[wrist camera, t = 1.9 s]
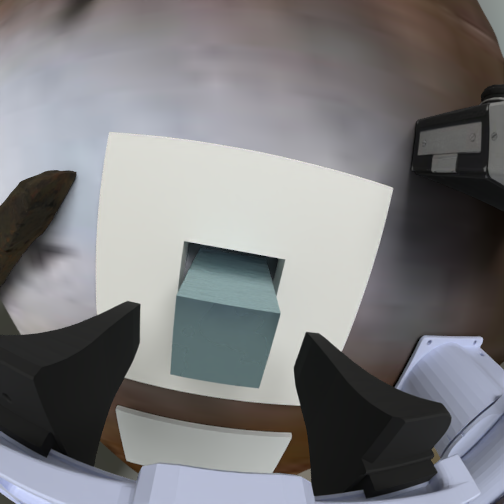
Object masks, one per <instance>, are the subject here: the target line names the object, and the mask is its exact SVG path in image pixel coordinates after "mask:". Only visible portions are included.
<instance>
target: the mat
mask: <svg viewBox="0 0 504 504" xmlns="http://www.w3.org/2000/svg"><path fill="white" fill-rule="evenodd" d="M116 415H117V420H118V425H119V430H120V435H121V440H122V444H123V449H124V453H125V457H126V461H129V462H132V463H136V464H140V465H144V466H146V465H150V464H155V463H160V462H162V463H173V464H183V465H189V466H195V467H202V468H209V469H217V470H226V471H238V472H253V473H272V472H273V471H274V469H275V467H276V466H277V464H278V462H279V460H280V459H281V457H282V455H283V453H284V451H285V449H286V448H287V446H288V444H289V442H290V440H291V438H292V435H291V433H284V432H264V431H251V430H241V429H232V428H223V427H216V426H209V425H203V424H197V423H191V422H185V421H180V420H175V419H171V418H166V417H161V416H157V415H153V414H149V413H145V412H141V411H137V410H134V409H130V408H126V407H123V406H120V405H117V407H116Z"/></svg>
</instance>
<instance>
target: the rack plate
mask: <svg viewBox="0 0 504 504" xmlns="http://www.w3.org/2000/svg"><path fill="white" fill-rule="evenodd" d="M392 192H393V188H392V187H389V186H386V185H383V184H380V183H377V182H374V181H371V180H367V179H364V178H361V177H358V176H354V175H351V174H347V173H344V172H340V171H337V170H333V169H329V168H326V167H322V166H318V165H314V164H310V163H306V162H302V161H298V160H294V159H290V158H285V157H281V156H276V155H272V154H267V153H262V152H257V151H252V150H247V149H242V148H236V147H231V146H225V145H219V144H213V143H206V142H200V141H193V140H185V139H178V138H170V137H161V136H151V135H141V134H129V133H115V132H109V137H108V142H107V148H106V154H105V160H104V166H103V174H102V181H101V190H100V199H99V210H98V223H97V241H96V306H97V315H99V314H101V313H103V312H105V311H107V310H109V309H111V308H113V307H115V306H117V305H119V304H121V303H124V302H126V301H130V302H135V303H139V304H141V307H140V344H139V347H138V350H137V352H136V355H135V358H134V360H133V362H132V364H131V366H130V368H129V370H128V372H127V374H126V376H125V377H124V378H127V379H131V380H135V381H138V382H142V383H146V384H150V385H155V386H159V387H163V388H168V389H172V390H177V391H182V392H187V393H193V394H198V395H204V396H210V397H217V398H223V399H231V400H239V401H247V402H257V403H268V404H281V405H299V406H300V402H299V398H298V394H297V391H296V386H295V379H294V365H295V362H296V359H297V356H298V354H299V351H300V348H301V345H302V342H303V339H304V336H305V333H306V332H313V333H319V334H321V335H322V336H323V337H325V338H326V339H327V340H328V341H329V342H331V343H332V344H333V345H334V346H335V347H336V348H337V349H339V350H340V351H341V352H342V350H343V347H344V345H345V343H346V340H347V338H348V335H349V332H350V330H351V327H352V325H353V322H354V319H355V317H356V314H357V311H358V309H359V306H360V303H361V300H362V297H363V294H364V292H365V289H366V286H367V283H368V280H369V276H370V273H371V270H372V267H373V264H374V260H375V257H376V254H377V250H378V247H379V243H380V240H381V236H382V233H383V229H384V225H385V221H386V217H387V213H388V209H389V205H390V201H391V196H392ZM189 242H192V243H198V244H203V245H209V246H214V247H220V248H225V249H231V250H236V251H241V252H247V253H252V254H258V255H263V256H269V257H275V258H279V259H278V263H277V267H276V271H275V276H274V280H273V287H274V290H275V294H276V298H277V301H278V305H279V309H280V312H281V315H280V318H279V322H278V325H277V329H276V332H275V336H274V340H273V343H272V346H271V350H270V353H269V357H268V360H267V364H266V367H265V370H264V374H263V377H262V380H261V383H260V387H259V388H250V387H242V386H234V385H227V384H220V383H214V382H208V381H202V380H196V379H191V378H186V377H181V376H176V375H171V374H170V370H171V353H172V339H173V326H174V315H175V304H176V295H177V293H178V291H179V289H180V287H181V285H182V283H183V281H184V275H185V268H186V260H187V253H188V245H189Z"/></svg>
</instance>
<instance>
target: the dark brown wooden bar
mask: <svg viewBox="0 0 504 504" xmlns="http://www.w3.org/2000/svg"><path fill="white" fill-rule="evenodd" d="M75 177H76V172H74V171H58V170H52V171H46V172H43V173H41V174H39V175H36V176H33V177H31V178H28V179H26V180H23V181H21V182H20V183H19V184H18V186H17V187H16V188H15V189H14V190H13V191H12V192H11V193H10V195H9V196H8V198H7V199H6V200H5V201H4V202H3V203H2V205H1V206H0V287H1V286H2V284H3V283H4V282H5V281H6V278H7V276H8V275H9V273H10V272H11V270H12V269H13V267H14V266H15V264H16V263H17V262H18V260H19V259H20V257H21V256H22V254H23V253H24V252H25V251H26V250H27V248H28V247H29V246H30V244H31V243H32V242H33V241H34V240H35V239H36V238H37V237H39V236H40V235H41V234H42V233H43V232H44V231H45V230H46V228H47V227H48V225H49V224H50V222H51V221H52V219H53V218H54V216H55V214H56V212H57V211H58V209H59V207H60V205H61V204H62V202H63V200H64V198H65V196H66V195H67V193H68V191H69V189H70V187H71V184H72V183H73V181H74V179H75Z"/></svg>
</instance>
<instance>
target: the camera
mask: <svg viewBox="0 0 504 504" xmlns="http://www.w3.org/2000/svg"><path fill="white" fill-rule="evenodd" d="M481 101H482V102H481V103H480V105H477V106H473V107H468V108H464V109H460V110H455V111H451V112H447V113H443V114H439V115H435V116H431V117H427V118H423V119H420V120H418V121H417V126H416V136H415V145H414V154H413V162H412V169H411V170H412V171H414V172H416V174H417V175H420V176H423V177H425V178H428V179H431V180H433V181H436V182H438V183H441V184H443V185H446V186H448V187H451V188H453V189H456V190H458V191H460V192H463V193H465V194H467V195H470V196H472V197H474V198H476V199H479V200H481V201H483V202H485V203H487V204H489V205H491V206H494V207H496V208H498V209H500V210H502V211H504V85H503V84H502V85H492V86H489V87H487V88H486V89H485V90H484V92H483V93H482V95H481Z"/></svg>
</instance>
